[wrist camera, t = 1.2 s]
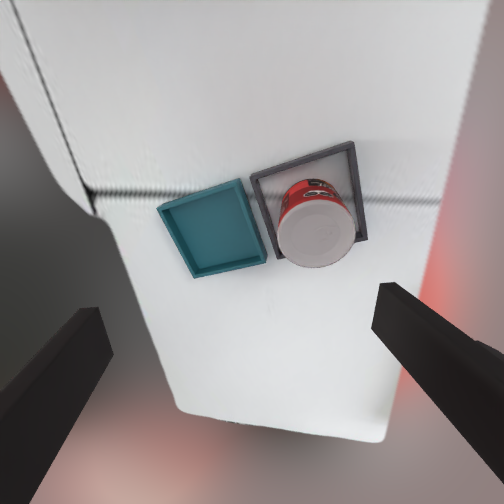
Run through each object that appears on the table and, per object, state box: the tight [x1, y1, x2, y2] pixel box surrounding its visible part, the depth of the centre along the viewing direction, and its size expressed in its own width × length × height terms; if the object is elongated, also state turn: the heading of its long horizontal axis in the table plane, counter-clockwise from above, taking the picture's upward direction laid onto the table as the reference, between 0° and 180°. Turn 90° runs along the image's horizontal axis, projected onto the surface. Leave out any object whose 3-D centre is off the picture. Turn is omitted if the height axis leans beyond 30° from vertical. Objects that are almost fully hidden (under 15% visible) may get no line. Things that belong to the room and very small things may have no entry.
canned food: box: [277, 179, 356, 268], centre depth 29 cm, size 8×8×11 cm
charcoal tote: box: [250, 141, 368, 260], centre depth 33 cm, size 13×13×2 cm
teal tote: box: [156, 178, 267, 279], centre depth 37 cm, size 13×13×2 cm
